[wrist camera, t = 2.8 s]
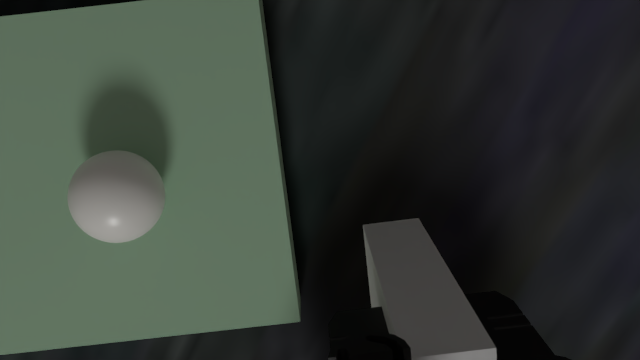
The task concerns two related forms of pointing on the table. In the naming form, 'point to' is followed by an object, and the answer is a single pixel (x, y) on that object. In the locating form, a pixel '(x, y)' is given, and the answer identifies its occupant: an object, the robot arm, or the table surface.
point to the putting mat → (163, 153)
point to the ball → (116, 196)
